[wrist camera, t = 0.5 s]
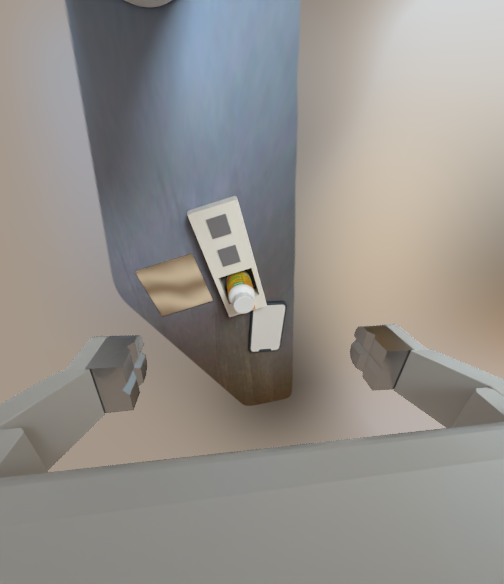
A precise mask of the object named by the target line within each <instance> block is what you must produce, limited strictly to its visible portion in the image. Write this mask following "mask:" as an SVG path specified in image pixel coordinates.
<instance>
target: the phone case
mask: <svg viewBox="0 0 504 584" xmlns="http://www.w3.org/2000/svg"><path fill="white" fill-rule="evenodd" d="M266 303H267V306H265V307H261V308H258V309H255V310H252V311H251V321H250V331H249V350H250V352H266V351H276V350H279V348H280V345H281V339H282V333H283V326H284V320H285V314H286V308H287V305H286V303H285V302H284V301H269V302H266Z"/></svg>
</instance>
